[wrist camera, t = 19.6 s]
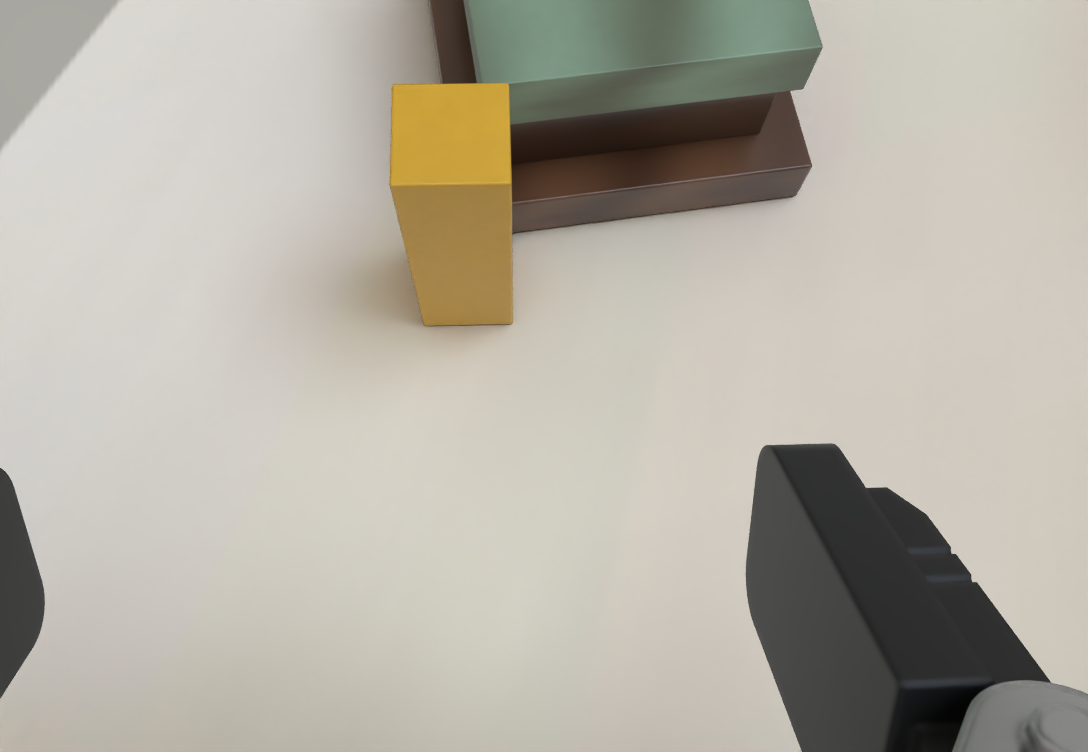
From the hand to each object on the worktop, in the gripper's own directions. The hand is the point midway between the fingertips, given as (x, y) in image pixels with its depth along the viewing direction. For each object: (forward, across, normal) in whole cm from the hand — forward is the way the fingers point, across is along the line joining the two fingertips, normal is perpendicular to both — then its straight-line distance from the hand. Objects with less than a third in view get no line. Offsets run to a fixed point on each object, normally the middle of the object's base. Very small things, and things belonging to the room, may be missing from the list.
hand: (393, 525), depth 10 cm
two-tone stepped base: (+28, -5, -1) cm, 28 cm away
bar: (+22, 0, +5) cm, 22 cm away
